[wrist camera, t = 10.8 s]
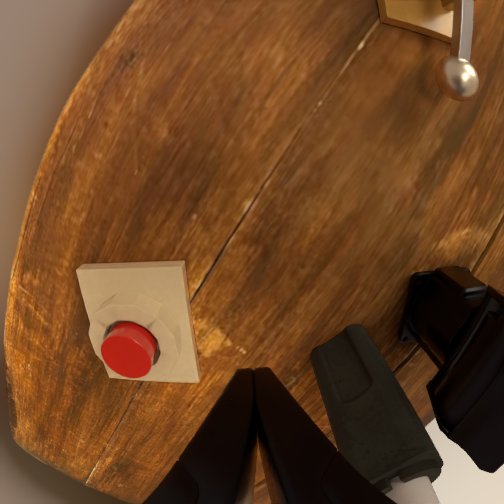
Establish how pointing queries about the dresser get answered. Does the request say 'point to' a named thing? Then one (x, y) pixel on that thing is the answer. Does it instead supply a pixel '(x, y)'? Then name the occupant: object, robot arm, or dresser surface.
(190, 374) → the button block
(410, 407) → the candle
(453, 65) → the tap lever
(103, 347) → the button
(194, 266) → the dresser surface
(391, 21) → the tap bracket
